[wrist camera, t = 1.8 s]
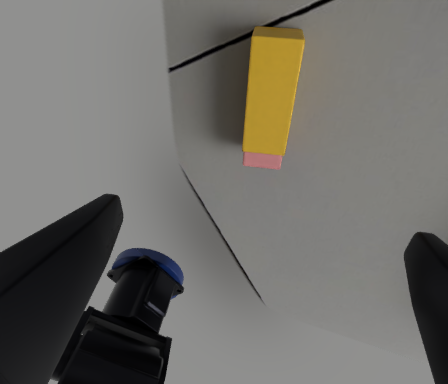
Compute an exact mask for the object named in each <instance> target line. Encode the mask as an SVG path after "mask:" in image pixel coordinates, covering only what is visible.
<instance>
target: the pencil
mask: <svg viewBox="0 0 448 384" xmlns="http://www.w3.org/2000/svg"><path fill="white" fill-rule="evenodd" d="M304 45H305V38H304V35H303V31H302V30H301V29H291V28H276V27H261V26H256V27H255V28H254V31H253V34H252V37H251V47H250V60H249V72H248V84H247V96H246V108H245V121H244V133H243V145H242V151H243V152H244V155H243V165H244V166H251V167H260V168H270V169H280V167H281V162H282V156H284V155H285V150H286V145H287V139H288V134H289V128H290V123H291V117H292V112H293V106H294V101H295V95H296V89H297V84H298V78H299V73H300V67H301V62H302V56H303V51H304Z"/></svg>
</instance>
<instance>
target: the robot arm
mask: <svg viewBox="0 0 448 384" xmlns="http://www.w3.org/2000/svg"><path fill="white" fill-rule="evenodd" d="M122 222H123V211H122V207H121V201H120V198H119V196H118V195H114V194H104V195H102V196H100V197H98V198H97V199H95V200H93V201H91V202H89V203H88V204H86V205H84V206H82V207H81V208H79V209H77V210H75V211H73V212H72V213H70V214H68V215H66V216H64V217H63V218H61V219H59V220H57V221H56V222H54V223H52V224H50V225H48V226H47V227H45V228H43V229H41V230H40V231H38V232H36V233H34V234H32V235H31V236H29V237H27V238H25V239H23V240H22V241H20V242H18V243H16V244H14V245H13V246H11V247H9V248H7V249H6V250H4V251H2V252H0V384H48V382H49V380H50V379H52V380H55V381H59V382H58V384H164V381H165V377H166V371H167V365H168V359H169V353H170V348H171V341H172V338H170V337H164V336H162V335H159V330H160V327H161V324H162V321H163V318H164V317H165V315H166V313H167V310H168V306H169V303H170V300H171V297H172V296H175V295H178V294H181V293H183V291H184V287H183V286H182V285H181V284H180V283H178V282H177V281H176V280H175V279H174V278H173V277H172V276H170V275H169V274H168V273H167V272H166V271H165V270H164V269H163V268H161V267H160V266H159V265H158V264H157V263H156V262H155V261H153V260H152V259H151V258H150V257H149V256H146V255H143V256H141V257H139V258H136V259H134V260H132V261H130V262H127V263H125V264H123V265H121V266H118V267H116V268H114V269H112V270H109V271H108V273H107V276H108V277H109V278H110V279H111V280H113V281H114V282H115V283H116V285H115V287H114V289H113V291H112V293H111V295H110V297H109V299H108V301H107V303H106V305H105V307H104V309H103V311H102V312H101V311H98V310H96V309H94V308H93V307H91V306H89V307H88V309H87V311H84V310H85V308H86V305H87V304H88V302H89V299H90V297H91V295H92V293H93V291H94V289H95V287H96V285H97V283H98V281H99V279H100V277H101V275H102V273H103V271H104V269H105V267H106V265H107V263H108V260H109V258H110V255H111V252H112V250H113V247H114V244H115V241H116V239H117V236H118V233H119V230H120V227H121V225H122ZM404 261H405V267H406V273H407V279H408V285H409V291H410V297H411V302H412V306H413V310H414V314H415V317H416V321H417V324H418V327H419V331H420V334H421V338H422V341H423V344H424V348H425V351H426V354H427V358H428V361H429V365H430V368H431V371H432V375H433V378H434V382H435V384H448V245H447V244H446V243H444V242H443V241H442V240H441V239H439V238H438V237H437V236H436V235H434V234H432V233H426V232H417V233H415V234H414V236H413V237H412V239H411V241H410V243H409V244H408V246H407V248H406V250H405V252H404ZM81 334H83V335H81Z"/></svg>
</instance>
